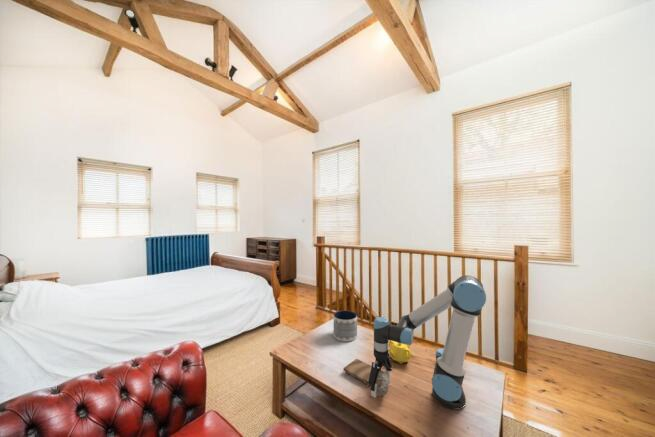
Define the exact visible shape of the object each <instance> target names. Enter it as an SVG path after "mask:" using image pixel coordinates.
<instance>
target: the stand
mask: <svg viewBox="0 0 655 437" xmlns="http://www.w3.org/2000/svg"><path fill="white" fill-rule="evenodd" d="M371 368H372V364H371V365H370V364H369V363H366V361H365V362H364V361H363V360H360V359H358V358H355V359H354V360H353V361H351V362H349V363H348V364H347V365H346V366H345V367H343V371H344V374H345V375H347V376H350V375H352V376H353V377H354V378H357V379H359V380H360V381H363V382H364V385H365V386H366V387H371V385H370V384H369V383H368V381H369V376H370V372H371Z"/></svg>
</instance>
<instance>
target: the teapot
mask: <svg viewBox="0 0 655 437" xmlns="http://www.w3.org/2000/svg"><path fill="white" fill-rule="evenodd" d="M410 346H411V345H407V344H402V343H398V342H395V341H391V340H389V341H388V353H389V357H391V359H392V360H393V361H395V362H398V364H400V365H402V364H403V363H406V362H408V361H409V360H410V359H412V358H413V354H412V349H411V348H410ZM409 348H410V349H409Z"/></svg>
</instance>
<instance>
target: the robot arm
mask: <svg viewBox="0 0 655 437" xmlns="http://www.w3.org/2000/svg"><path fill="white" fill-rule="evenodd" d="M486 301H487V294H486V291H485V289H484V285H483V284H482V282H481V280H480V279H478V278H477V277H476V276H473V275H468V274H467V275H461V276H460V277H457V279H456V280H455V281H453V282H452V283H450V284H449V285H447V288H446V289H445V290H443V291H442V292H440V293H438V295H436V296H434V297H433V298H431V299H429V300H428V301H427V302H425V303H424V304H422V305H420V306H419V307H417V308H416V309H414V310H413V311H411V312H409V313H408V314H406V315H405V314H404V315H402V317H400V319H399V321H398V323H396V325H395V324H391V323H390V322H389V319H388V318H386V317H382V316H378V317H376V318H374V319H373V356H374V358H375V361H372V362H371V366H372V368H371V372H370V376H369V381H368V383H369V384H370V396H372V397H373V398H377V394H376V386H377V384H376V381H377V378H378V374H379V371H381V370H382V369H383V367H384V368H385V369H384V372H385V373H386V375H387V376H388V378H389V385H390V382H391V379H390V376H391V374H390V372H392V371H393V370H392V368H393V365H392V361H391V358H390V357H391V356H390V353H389V352H388V350H389V341H390V340H391V341H394V342H398V343H402V344H405V345H406V344H407V345H410V346H412V344H413V341H414V330H415V329H417V328H419V327H420V326H423V325H424V324H426V322H428V321H430V320H432V319H433V318H435V317H436V316H438V315H440V314H441V313H442V314H443V312H445V311H447V310H448V309H450V308H452V314H451V317H450V321H449V326H448V330H447V333H446V338H445V342H444V346H443V348H442V347H441V348H437V349H436V351H435V354H434V355H435V364H434V368H433V375H432V378H431V386H432V388H431V394H432V397H433V399H434V400H435V401H436V402H437V403H439V404H440V405H442V406H444V407H446V408H449V409H452V408H460V409H462V408H461V407H463V406H464V405H465V406H466V404H465V403H466V402H467V400H466V399H467V398H466V394H465V392H464V389H463V382H464V378H465V375H466V371H465V369H464V368H465V367H463V366H464V362H465V357H466V355H467V350H468V346H469V342H470V339H471V335H472V331H473V328H474V323H475V320H476V318H477V317H480V316H481V313H482V309H483V308H484V306H485V304H486ZM465 406H464V407H465ZM464 407H463V408H464Z"/></svg>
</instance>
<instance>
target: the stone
mask: <svg viewBox="0 0 655 437" xmlns="http://www.w3.org/2000/svg"><path fill="white" fill-rule="evenodd" d="M376 384H377V386H376V396H379V397H382V396H384V395H387V393H388V391H389V386H390V384H389V378H388V376H387V375H386V373H385V370H382V369H381V371H379V374H378V378H377V381H376Z"/></svg>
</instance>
